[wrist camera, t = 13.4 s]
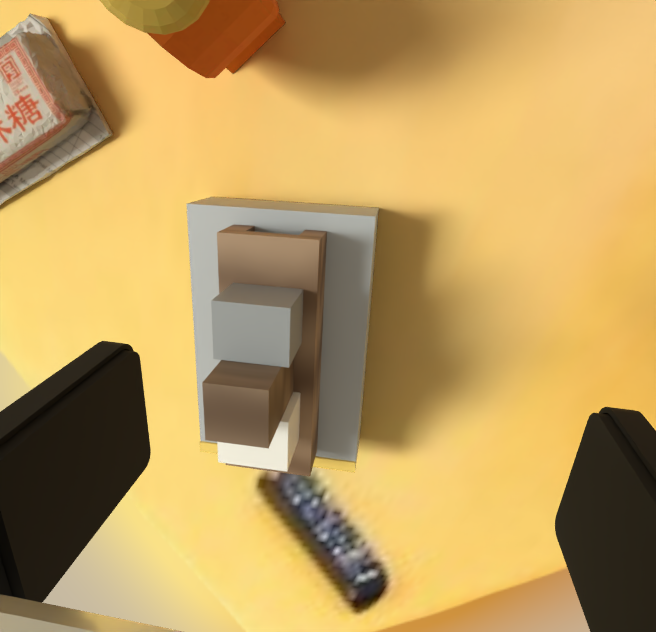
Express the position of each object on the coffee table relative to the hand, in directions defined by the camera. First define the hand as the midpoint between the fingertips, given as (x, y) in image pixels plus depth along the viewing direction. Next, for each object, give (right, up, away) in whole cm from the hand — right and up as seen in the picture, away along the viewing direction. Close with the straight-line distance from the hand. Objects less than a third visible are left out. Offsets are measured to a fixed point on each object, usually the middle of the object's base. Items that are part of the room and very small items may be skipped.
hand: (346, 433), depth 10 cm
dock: (-4, +2, +32) cm, 33 cm away
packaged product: (-28, +19, +31) cm, 46 cm away
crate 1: (-5, +3, +23) cm, 24 cm away
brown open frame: (-4, 0, +28) cm, 28 cm away
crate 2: (-5, -5, +26) cm, 27 cm away
